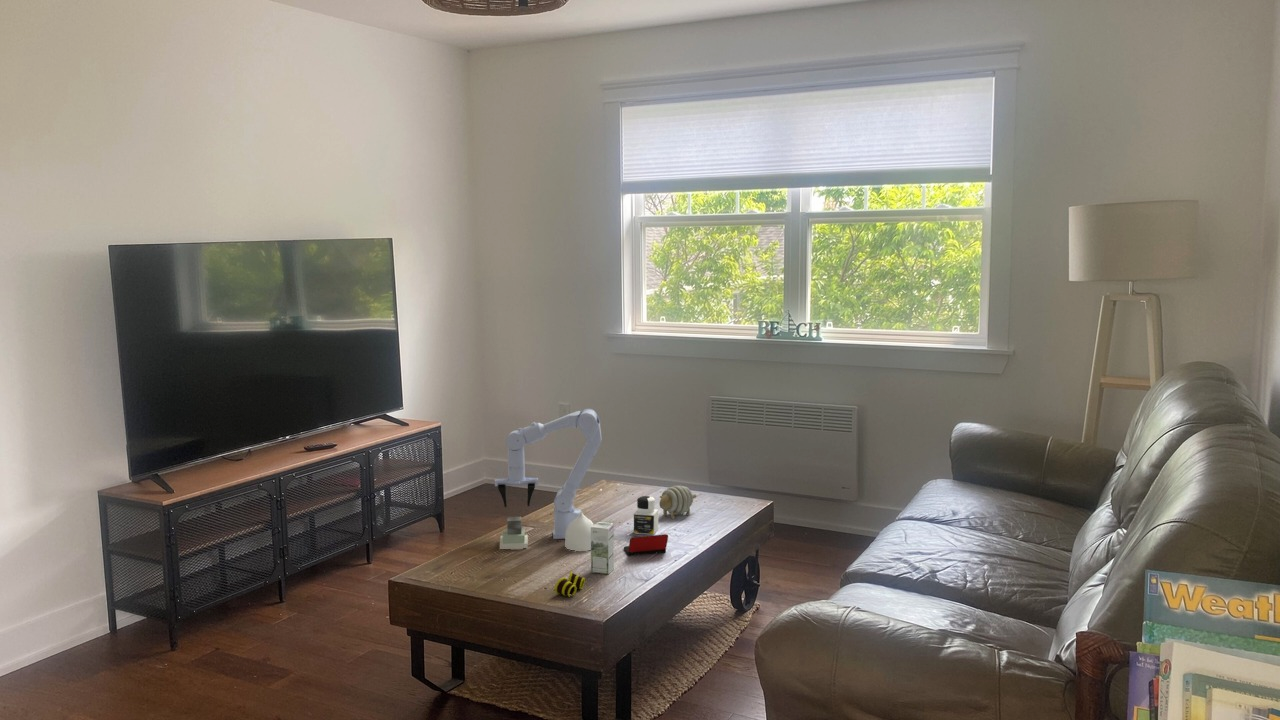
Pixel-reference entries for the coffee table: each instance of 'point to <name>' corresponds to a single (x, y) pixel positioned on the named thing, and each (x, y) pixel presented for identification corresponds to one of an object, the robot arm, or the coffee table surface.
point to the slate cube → (514, 525)
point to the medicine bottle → (646, 516)
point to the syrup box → (602, 547)
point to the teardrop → (579, 534)
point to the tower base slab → (514, 544)
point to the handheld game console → (647, 545)
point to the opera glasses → (569, 584)
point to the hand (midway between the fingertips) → (517, 505)
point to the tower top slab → (513, 537)
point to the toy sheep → (676, 500)
